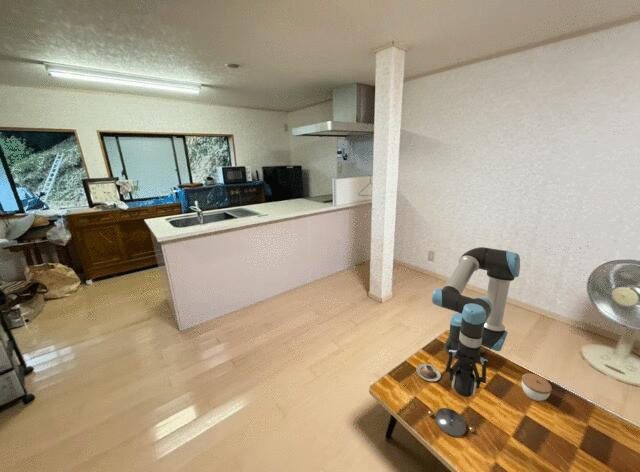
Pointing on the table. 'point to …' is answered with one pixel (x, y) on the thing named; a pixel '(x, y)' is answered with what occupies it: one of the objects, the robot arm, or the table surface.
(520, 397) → the table surface
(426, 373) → the grey ring with stone
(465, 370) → the supplement bottle
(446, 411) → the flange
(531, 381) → the lidded jar
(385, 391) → the table surface
